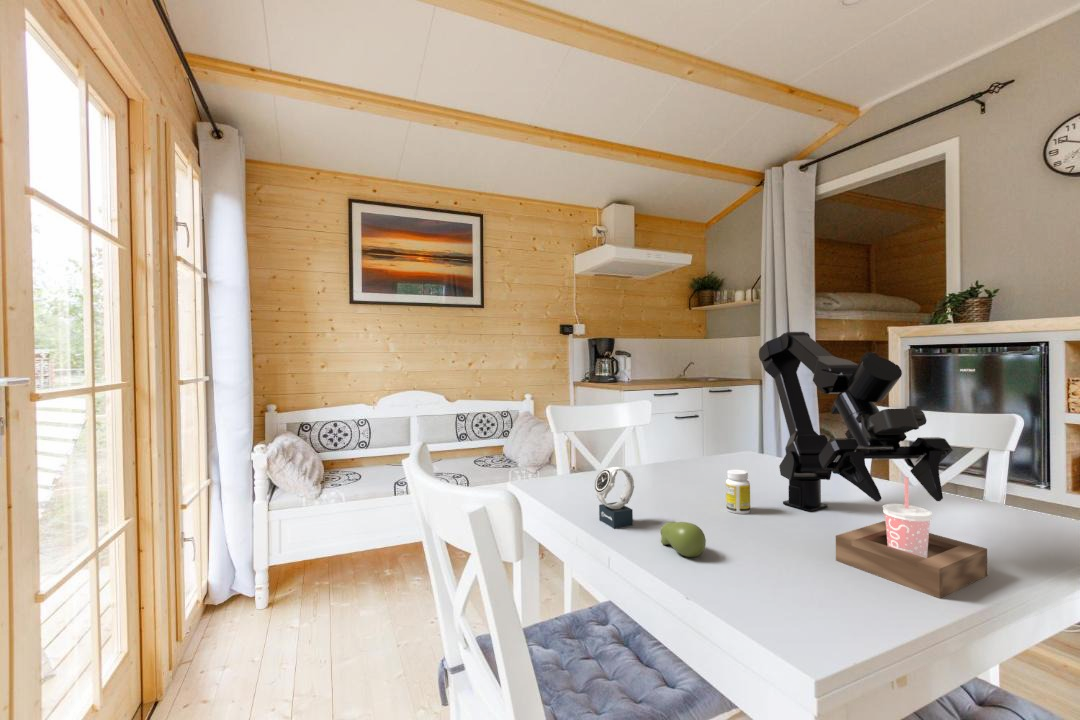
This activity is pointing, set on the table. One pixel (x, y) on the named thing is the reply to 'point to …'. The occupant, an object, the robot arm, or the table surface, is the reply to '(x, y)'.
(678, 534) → the pear
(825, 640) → the table surface
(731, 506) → the supplement bottle
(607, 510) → the watch
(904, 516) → the beverage cup
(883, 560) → the walnut box
